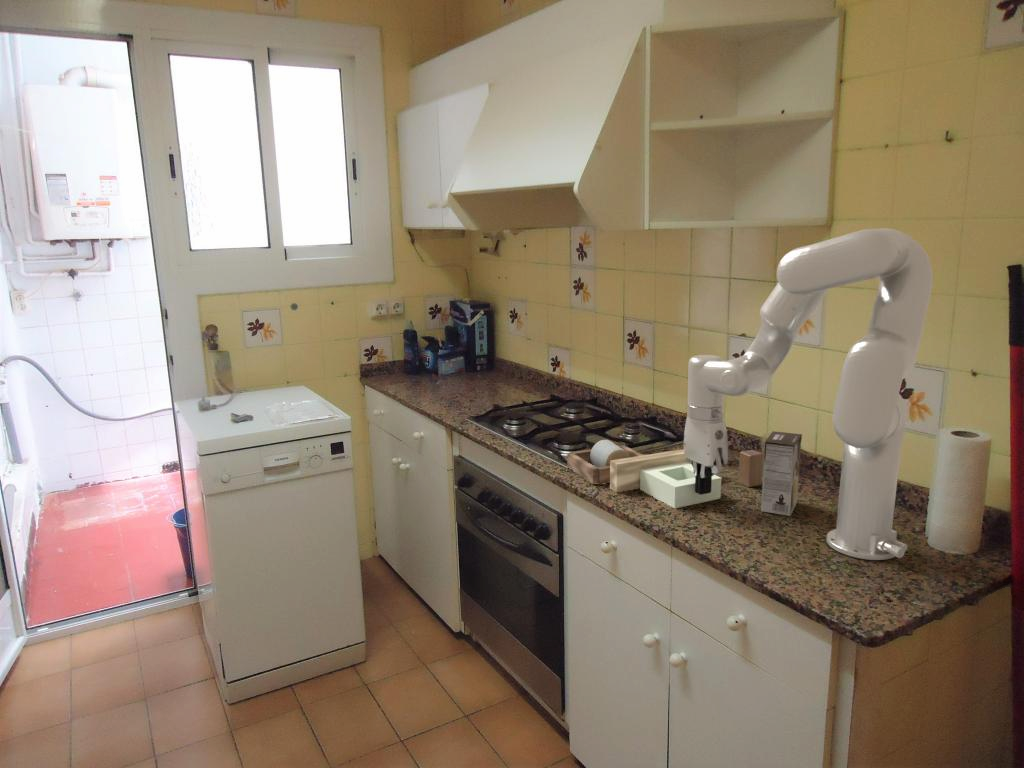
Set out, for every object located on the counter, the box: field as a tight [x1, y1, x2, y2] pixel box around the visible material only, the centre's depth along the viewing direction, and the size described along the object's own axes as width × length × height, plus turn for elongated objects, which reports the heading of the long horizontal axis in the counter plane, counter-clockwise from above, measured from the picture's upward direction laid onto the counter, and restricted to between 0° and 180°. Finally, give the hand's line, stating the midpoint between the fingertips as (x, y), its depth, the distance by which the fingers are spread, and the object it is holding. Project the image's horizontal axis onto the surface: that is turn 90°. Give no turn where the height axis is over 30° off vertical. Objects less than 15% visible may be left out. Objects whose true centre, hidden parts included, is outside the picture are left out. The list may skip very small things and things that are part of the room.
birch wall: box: [609, 448, 691, 494], centre depth 172 cm, size 3×26×7 cm, turn 113°
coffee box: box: [760, 430, 803, 517], centre depth 156 cm, size 9×6×16 cm
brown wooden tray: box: [566, 444, 644, 485], centre depth 181 cm, size 15×17×4 cm
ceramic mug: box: [590, 439, 629, 468], centre depth 181 cm, size 11×8×8 cm
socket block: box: [639, 462, 722, 509], centre depth 165 cm, size 13×13×5 cm
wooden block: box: [738, 449, 764, 488], centre depth 171 cm, size 4×4×8 cm
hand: (703, 492), depth 158 cm, fingers closed
